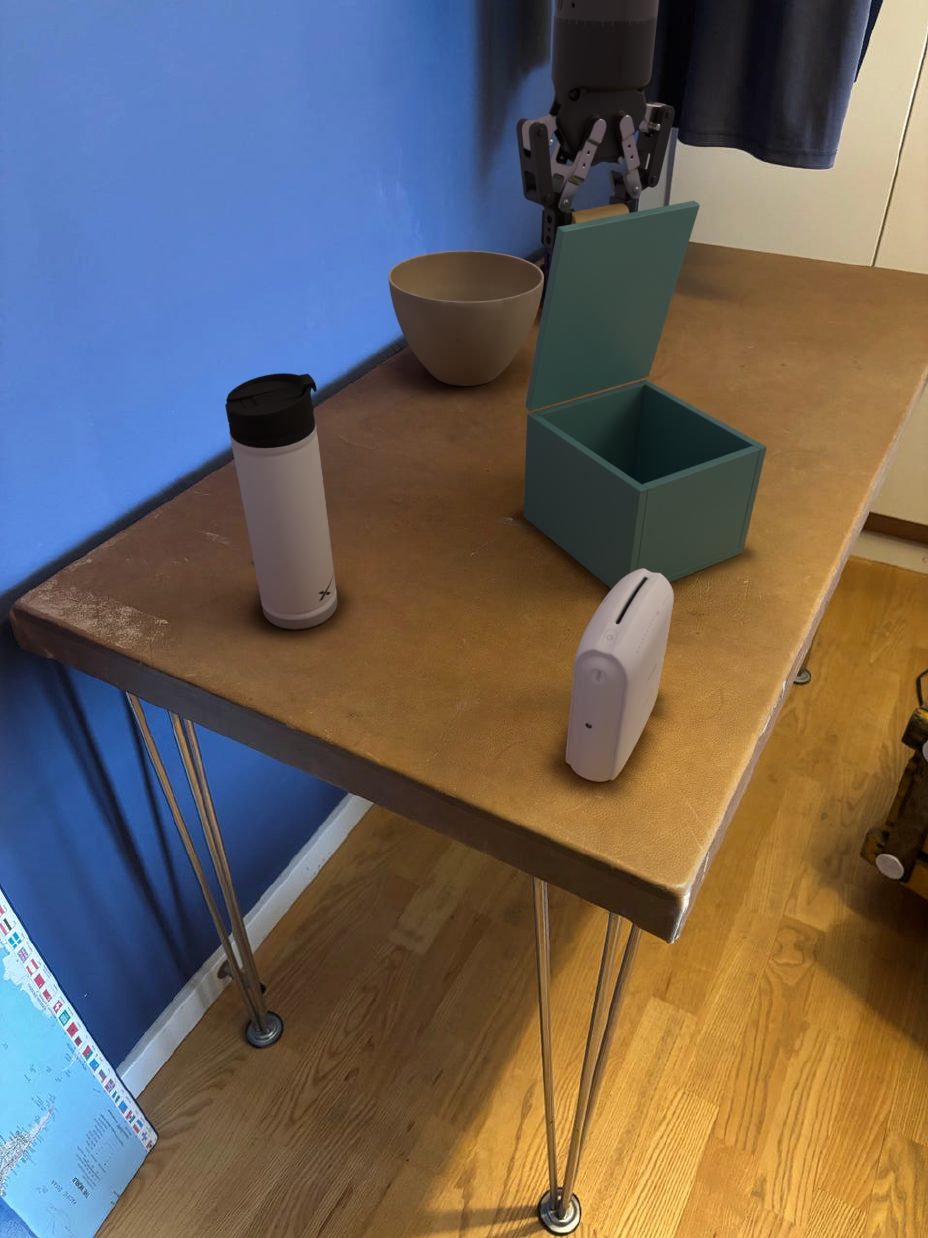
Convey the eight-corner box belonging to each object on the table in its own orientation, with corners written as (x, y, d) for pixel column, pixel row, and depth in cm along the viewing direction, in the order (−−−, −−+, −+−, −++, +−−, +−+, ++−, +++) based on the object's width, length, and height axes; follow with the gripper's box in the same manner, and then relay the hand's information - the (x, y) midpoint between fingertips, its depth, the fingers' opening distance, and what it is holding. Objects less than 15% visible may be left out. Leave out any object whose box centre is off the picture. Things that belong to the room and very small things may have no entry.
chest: (743, 553, 83) (767, 446, 76) (625, 601, 77) (640, 491, 70) (633, 478, 93) (645, 379, 86) (522, 516, 88) (526, 413, 81)
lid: (700, 204, 73) (659, 175, 76) (563, 231, 68) (525, 199, 71) (648, 376, 86) (615, 347, 89) (529, 411, 80) (498, 378, 83)
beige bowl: (469, 419, 104) (468, 313, 96) (364, 374, 113) (356, 274, 106) (568, 371, 114) (575, 272, 106) (464, 333, 123) (463, 240, 116)
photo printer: (615, 793, 61) (636, 654, 53) (556, 771, 63) (568, 633, 55) (663, 698, 68) (688, 563, 60) (609, 680, 70) (626, 546, 62)
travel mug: (350, 619, 76) (325, 395, 63) (272, 638, 74) (230, 411, 61) (330, 577, 80) (303, 360, 68) (256, 595, 78) (214, 375, 66)
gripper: (554, 21, 61) (543, 277, 71) (715, 7, 67) (683, 247, 77) (494, 12, 66) (492, 252, 76) (648, 0, 72) (626, 225, 82)
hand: (588, 248), depth 77 cm, fingers open, 5 cm apart
